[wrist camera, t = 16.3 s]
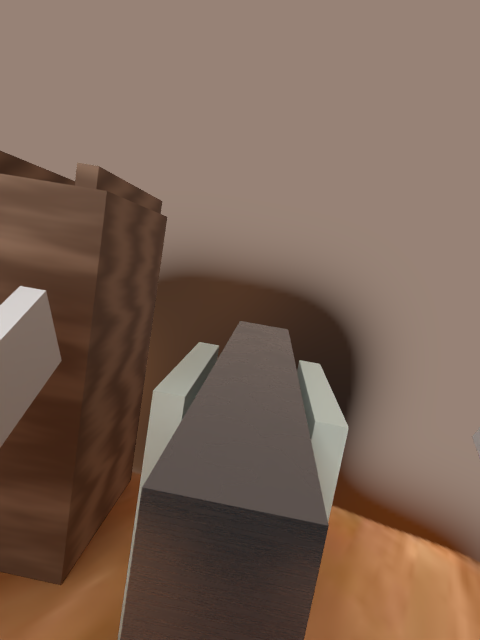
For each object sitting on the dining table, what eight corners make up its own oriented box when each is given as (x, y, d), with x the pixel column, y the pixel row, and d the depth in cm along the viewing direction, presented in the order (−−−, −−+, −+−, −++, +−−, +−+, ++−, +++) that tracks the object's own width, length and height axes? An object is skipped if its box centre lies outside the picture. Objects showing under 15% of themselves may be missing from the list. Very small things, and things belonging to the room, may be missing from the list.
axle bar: (293, 688, 9) (328, 525, 9) (118, 648, 10) (141, 487, 9) (279, 376, 35) (288, 329, 34) (232, 367, 35) (240, 321, 35)
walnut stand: (60, 585, 33) (109, 168, 28) (-61, 558, 33) (-33, 145, 29) (130, 479, 48) (169, 202, 44) (47, 462, 49) (77, 187, 44)
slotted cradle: (268, 798, 22) (348, 427, 19) (100, 757, 22) (153, 390, 19) (270, 609, 34) (319, 364, 31) (161, 585, 34) (199, 341, 31)
